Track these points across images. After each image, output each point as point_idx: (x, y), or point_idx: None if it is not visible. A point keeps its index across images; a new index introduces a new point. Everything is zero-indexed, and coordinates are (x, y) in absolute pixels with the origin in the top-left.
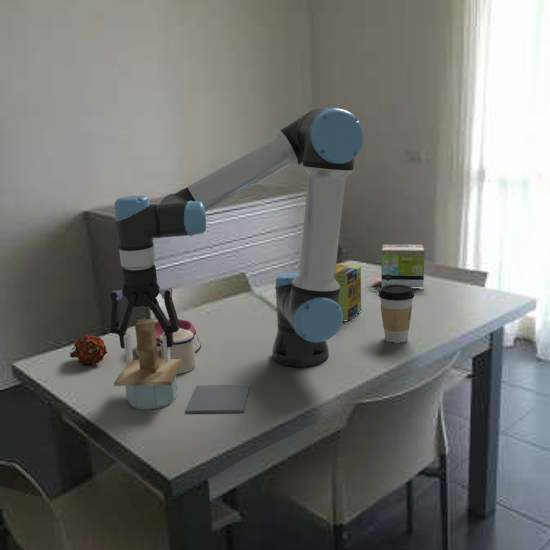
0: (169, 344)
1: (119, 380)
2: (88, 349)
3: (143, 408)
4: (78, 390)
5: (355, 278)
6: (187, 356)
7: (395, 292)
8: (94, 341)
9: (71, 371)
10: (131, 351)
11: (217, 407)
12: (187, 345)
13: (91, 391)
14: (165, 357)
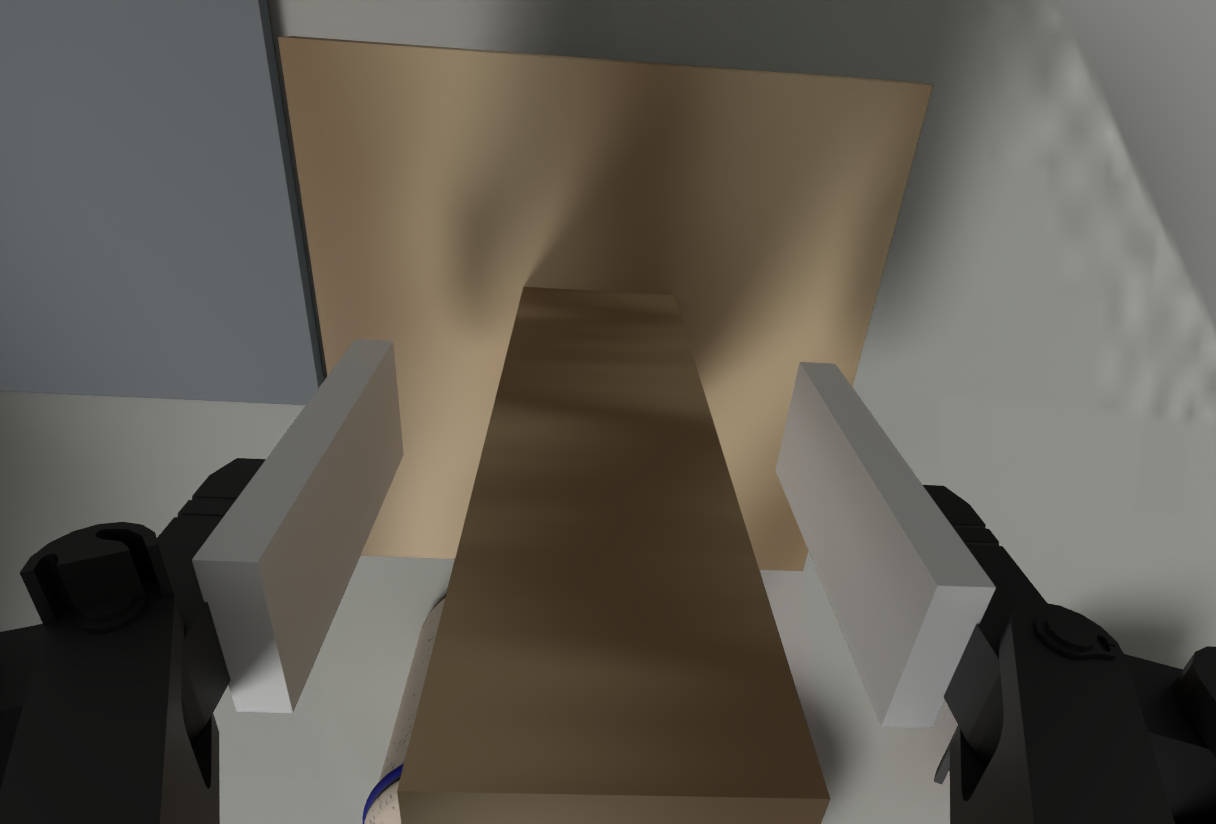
0: (242, 482)
1: (874, 141)
2: None
3: None
4: (1103, 429)
5: None
6: (424, 675)
7: None
8: None
9: (1128, 646)
10: (803, 504)
11: (3, 19)
12: (400, 749)
13: (1021, 409)
14: (363, 365)
